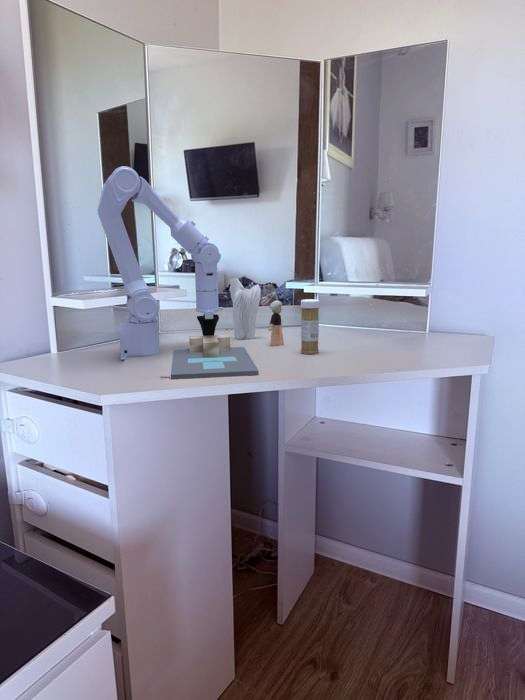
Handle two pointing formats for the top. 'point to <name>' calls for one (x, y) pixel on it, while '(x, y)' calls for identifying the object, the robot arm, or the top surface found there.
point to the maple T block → (209, 344)
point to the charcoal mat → (212, 364)
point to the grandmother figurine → (276, 324)
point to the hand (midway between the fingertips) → (208, 342)
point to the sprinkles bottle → (309, 326)
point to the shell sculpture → (244, 309)
